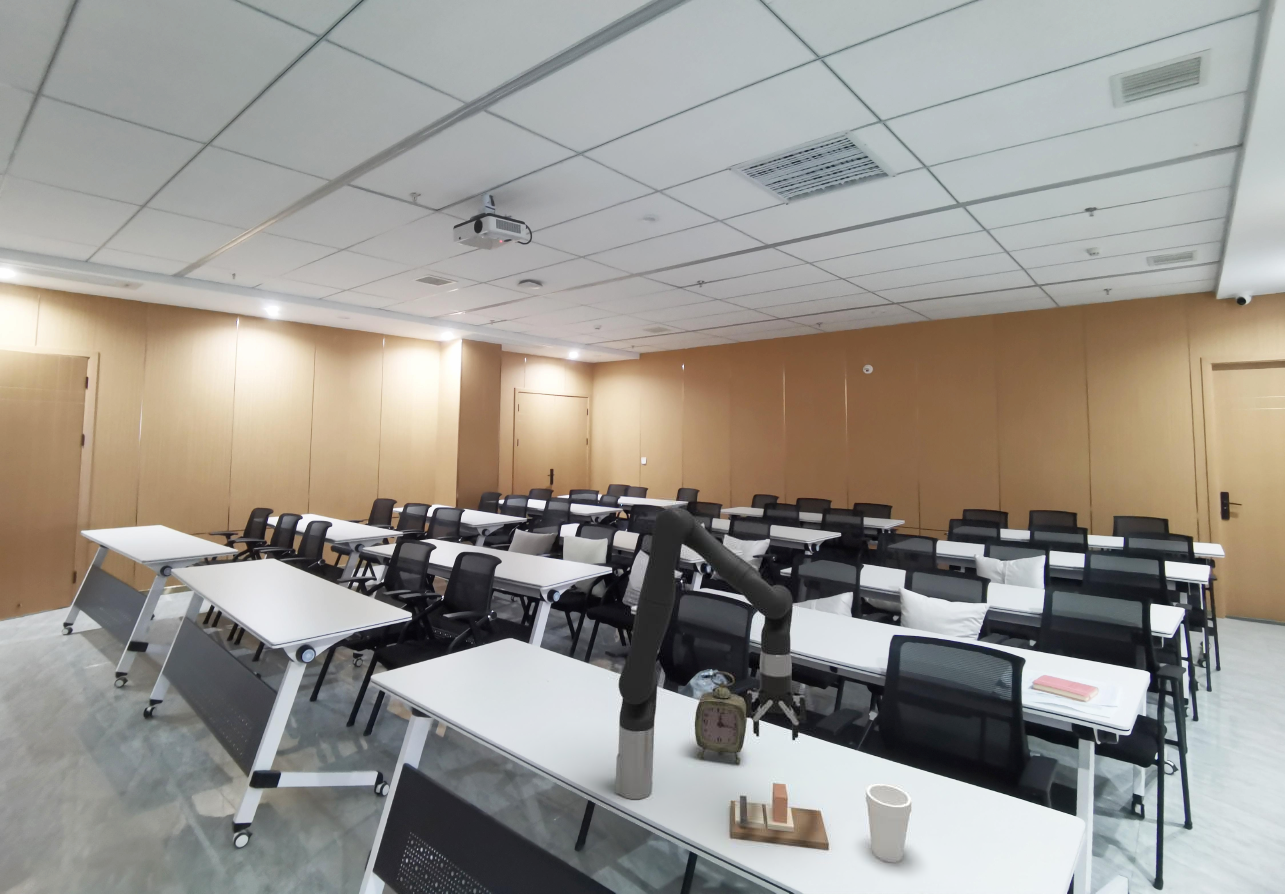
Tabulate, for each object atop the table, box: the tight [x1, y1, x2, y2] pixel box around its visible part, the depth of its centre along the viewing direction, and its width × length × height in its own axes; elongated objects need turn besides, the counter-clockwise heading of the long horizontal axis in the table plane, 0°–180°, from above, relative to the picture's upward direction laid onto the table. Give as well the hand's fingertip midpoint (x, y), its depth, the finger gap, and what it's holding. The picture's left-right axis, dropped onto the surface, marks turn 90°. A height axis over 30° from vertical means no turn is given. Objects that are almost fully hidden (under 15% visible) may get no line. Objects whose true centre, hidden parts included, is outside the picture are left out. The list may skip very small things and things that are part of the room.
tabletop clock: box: [694, 671, 748, 765], centre depth 180 cm, size 14×9×25 cm, turn 76°
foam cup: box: [865, 783, 912, 863], centre depth 138 cm, size 10×9×13 cm
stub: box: [766, 782, 794, 832], centre depth 146 cm, size 6×8×7 cm
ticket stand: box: [730, 795, 830, 851], centre depth 146 cm, size 22×13×4 cm, turn 82°
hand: (775, 736), depth 147 cm, fingers open, 8 cm apart
